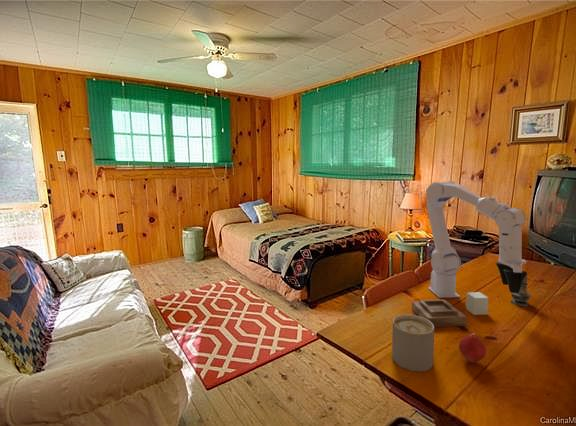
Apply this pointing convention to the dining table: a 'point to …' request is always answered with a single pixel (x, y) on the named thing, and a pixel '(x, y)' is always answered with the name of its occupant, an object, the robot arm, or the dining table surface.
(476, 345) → the onion
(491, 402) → the dining table surface
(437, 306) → the taupe stepped square slab
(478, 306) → the block
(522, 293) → the salt shaker
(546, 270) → the dining table surface
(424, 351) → the grey can
